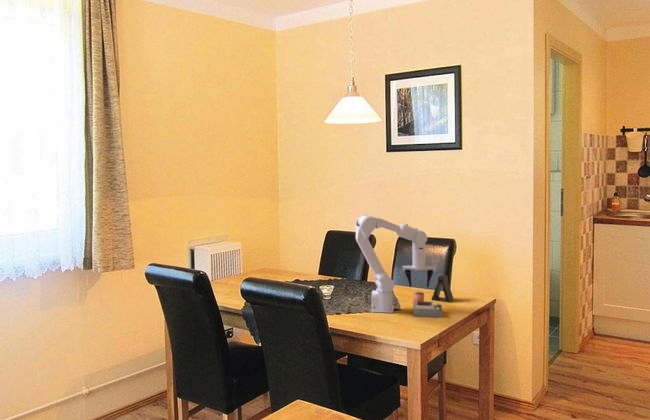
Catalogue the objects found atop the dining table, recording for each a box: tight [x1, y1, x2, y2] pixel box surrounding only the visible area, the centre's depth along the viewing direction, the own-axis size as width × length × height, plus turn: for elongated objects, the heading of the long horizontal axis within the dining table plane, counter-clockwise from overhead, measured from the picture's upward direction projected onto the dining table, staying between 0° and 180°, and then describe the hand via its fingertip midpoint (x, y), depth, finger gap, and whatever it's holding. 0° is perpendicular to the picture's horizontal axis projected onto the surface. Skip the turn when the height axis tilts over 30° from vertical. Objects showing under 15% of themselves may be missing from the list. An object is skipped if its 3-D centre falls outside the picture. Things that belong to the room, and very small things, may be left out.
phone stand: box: [431, 273, 454, 303], centre depth 268 cm, size 9×6×12 cm, turn 60°
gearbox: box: [413, 300, 443, 318], centre depth 245 cm, size 12×9×4 cm
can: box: [413, 291, 425, 305], centre depth 254 cm, size 5×5×7 cm
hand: (419, 286), depth 253 cm, fingers open, 7 cm apart
